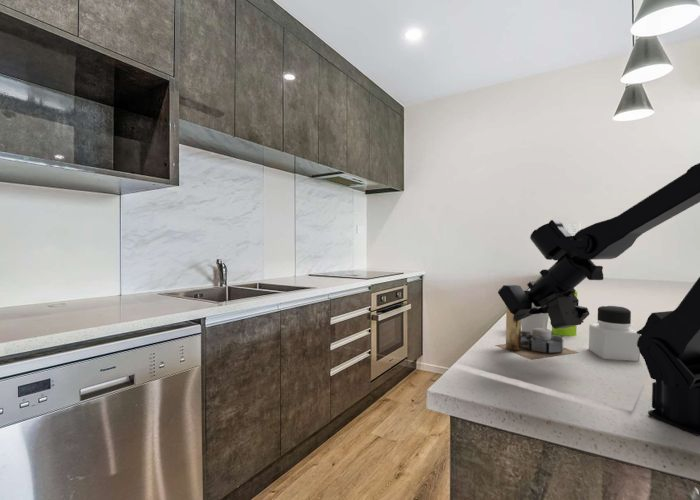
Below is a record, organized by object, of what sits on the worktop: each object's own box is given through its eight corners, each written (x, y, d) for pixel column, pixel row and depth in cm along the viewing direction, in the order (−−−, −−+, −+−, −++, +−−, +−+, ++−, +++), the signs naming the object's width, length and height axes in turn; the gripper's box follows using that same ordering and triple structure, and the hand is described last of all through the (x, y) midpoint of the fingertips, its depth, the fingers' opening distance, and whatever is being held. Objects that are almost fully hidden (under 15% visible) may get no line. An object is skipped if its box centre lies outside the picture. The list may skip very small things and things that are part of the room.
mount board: (579, 356, 82) (579, 333, 82) (531, 364, 77) (531, 339, 77) (539, 343, 92) (539, 323, 92) (494, 349, 87) (495, 327, 87)
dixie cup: (521, 340, 95) (521, 303, 95) (514, 332, 104) (514, 298, 103) (555, 342, 94) (556, 304, 93) (545, 334, 102) (545, 299, 101)
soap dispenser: (555, 339, 96) (557, 266, 95) (549, 333, 103) (550, 264, 102) (580, 341, 94) (582, 267, 94) (572, 334, 101) (573, 265, 100)
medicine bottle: (640, 365, 76) (641, 310, 76) (603, 363, 78) (604, 309, 77) (621, 355, 83) (623, 304, 83) (588, 353, 85) (589, 303, 84)
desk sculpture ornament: (571, 351, 81) (572, 308, 81) (518, 354, 79) (519, 310, 79) (544, 340, 90) (545, 302, 90) (496, 343, 88) (497, 303, 88)
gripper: (555, 312, 63) (503, 355, 73) (620, 308, 70) (565, 347, 80) (520, 265, 70) (477, 310, 80) (582, 265, 77) (536, 306, 87)
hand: (515, 319), depth 82 cm, fingers closed, pressing on desk sculpture ornament
